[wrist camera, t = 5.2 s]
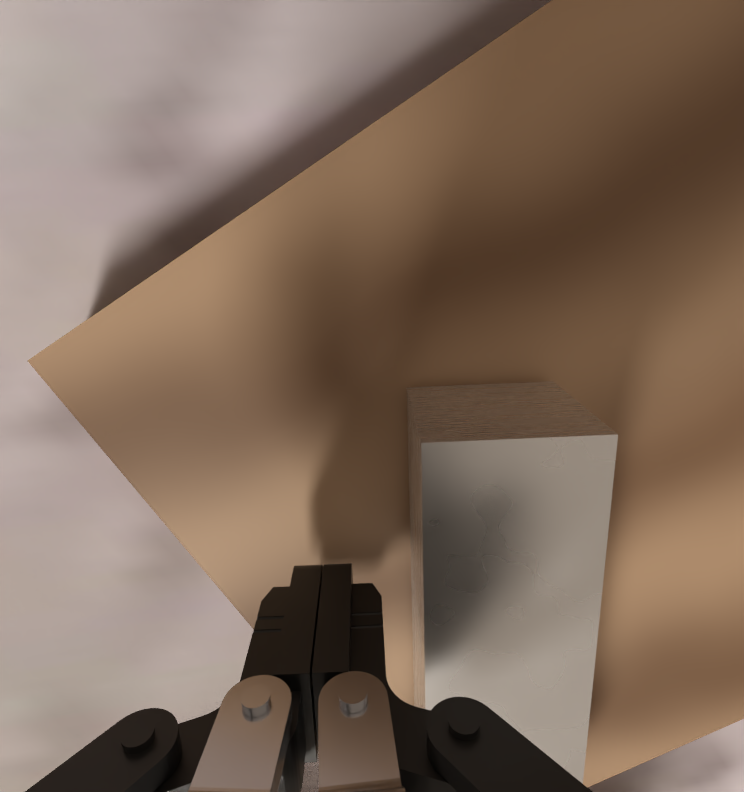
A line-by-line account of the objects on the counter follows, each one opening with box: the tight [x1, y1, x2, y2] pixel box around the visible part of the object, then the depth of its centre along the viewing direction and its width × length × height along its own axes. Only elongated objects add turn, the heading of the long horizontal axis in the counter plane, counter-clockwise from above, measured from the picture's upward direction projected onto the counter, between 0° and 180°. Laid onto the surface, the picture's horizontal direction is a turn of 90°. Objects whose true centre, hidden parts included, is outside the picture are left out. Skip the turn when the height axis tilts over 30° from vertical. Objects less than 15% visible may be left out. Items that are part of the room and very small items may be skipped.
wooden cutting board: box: [28, 0, 744, 788], centre depth 15 cm, size 20×20×2 cm
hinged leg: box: [407, 381, 618, 784], centre depth 13 cm, size 15×4×4 cm, turn 2°
